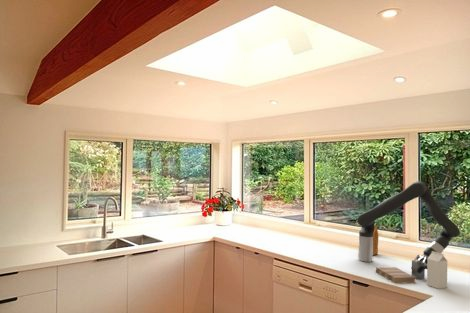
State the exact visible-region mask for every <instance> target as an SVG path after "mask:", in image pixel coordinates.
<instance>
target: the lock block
mask: <svg viewBox="0 0 470 313" xmlns="http://www.w3.org/2000/svg"><path fill="white" fill-rule="evenodd" d="M422 264H423V261H421V260H415V259H412V260H411V267H412V269H411V275H412V276H414V277H415V280H425V277H426V276H425V274H426V273H425V271H426V269H424V270H423V271H422V272H421V273H418V272H417V270H418V269H419V268H420V267H422ZM424 266H425V265H424Z"/></svg>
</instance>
